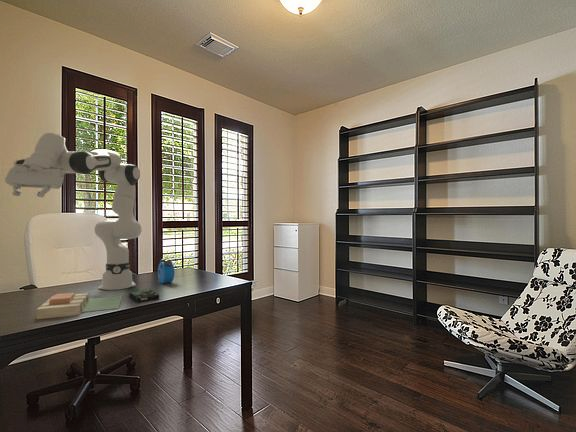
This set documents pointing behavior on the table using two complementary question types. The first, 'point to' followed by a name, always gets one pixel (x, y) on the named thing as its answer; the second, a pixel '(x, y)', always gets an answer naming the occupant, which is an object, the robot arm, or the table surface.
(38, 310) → the riser
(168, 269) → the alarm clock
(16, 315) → the table surface
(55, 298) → the orange flat block
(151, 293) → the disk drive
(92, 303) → the mat
